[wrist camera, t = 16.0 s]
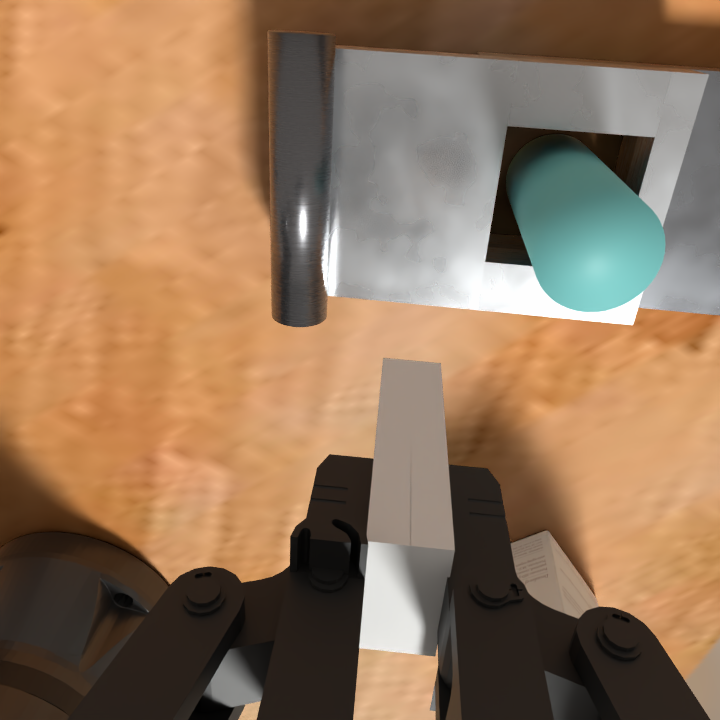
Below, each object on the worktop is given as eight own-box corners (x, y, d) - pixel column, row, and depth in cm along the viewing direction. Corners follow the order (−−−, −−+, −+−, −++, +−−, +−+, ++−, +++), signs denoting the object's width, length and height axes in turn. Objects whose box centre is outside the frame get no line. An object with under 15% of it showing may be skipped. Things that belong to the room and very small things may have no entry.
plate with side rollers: (776, 314, 31) (851, 382, 25) (290, 268, 32) (259, 323, 27) (882, 65, 25) (1007, 82, 20) (290, 25, 27) (251, 30, 21)
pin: (584, 226, 30) (645, 318, 21) (499, 218, 30) (523, 306, 21) (606, 137, 28) (682, 198, 19) (514, 130, 28) (547, 186, 19)
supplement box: (444, 565, 41) (446, 766, 30) (549, 525, 39) (592, 731, 28) (498, 632, 44) (517, 840, 33) (599, 600, 41) (657, 814, 30)
